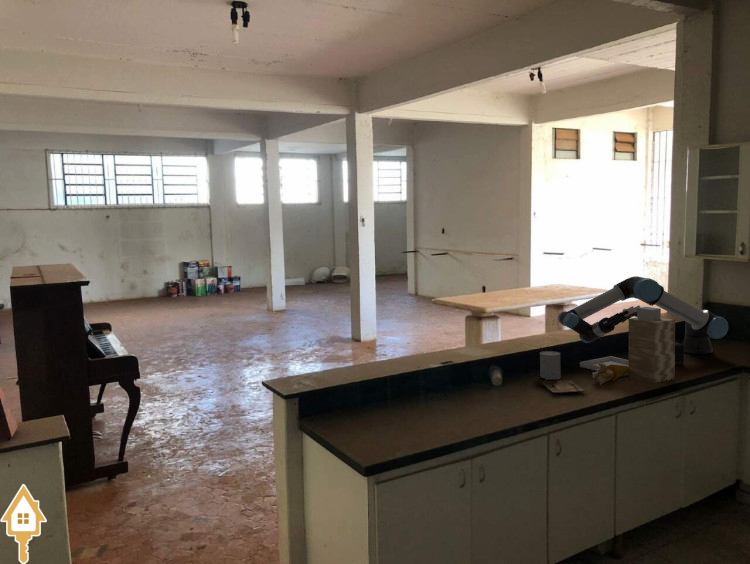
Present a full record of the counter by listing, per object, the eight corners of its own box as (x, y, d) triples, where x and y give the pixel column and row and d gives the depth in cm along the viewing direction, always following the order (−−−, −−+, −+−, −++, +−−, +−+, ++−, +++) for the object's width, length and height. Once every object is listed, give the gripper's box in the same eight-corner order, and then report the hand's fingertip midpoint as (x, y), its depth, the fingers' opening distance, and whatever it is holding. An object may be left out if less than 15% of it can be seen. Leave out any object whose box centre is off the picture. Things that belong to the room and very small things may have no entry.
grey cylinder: (560, 381, 284) (560, 355, 283) (539, 380, 287) (539, 355, 286) (561, 376, 293) (560, 351, 292) (540, 375, 296) (540, 350, 295)
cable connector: (629, 315, 295) (629, 304, 295) (660, 320, 279) (660, 308, 279) (620, 316, 293) (620, 305, 292) (651, 321, 277) (651, 309, 276)
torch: (629, 383, 287) (598, 386, 272) (616, 372, 293) (585, 375, 278) (637, 369, 284) (607, 372, 269) (624, 359, 289) (593, 361, 275)
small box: (684, 365, 303) (684, 344, 302) (671, 365, 303) (671, 345, 302) (674, 360, 314) (674, 340, 313) (662, 361, 314) (662, 341, 313)
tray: (611, 360, 318) (611, 356, 318) (651, 370, 296) (651, 365, 296) (580, 366, 309) (580, 362, 308) (619, 377, 286) (619, 372, 286)
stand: (649, 372, 292) (649, 315, 290) (674, 378, 280) (675, 319, 277) (628, 376, 286) (628, 318, 283) (653, 383, 274) (654, 322, 271)
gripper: (618, 331, 309) (652, 313, 289) (594, 335, 302) (627, 317, 282) (612, 318, 311) (645, 299, 292) (588, 321, 304) (621, 302, 285)
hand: (636, 308), depth 287 cm, fingers closed on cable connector, 3 cm apart
